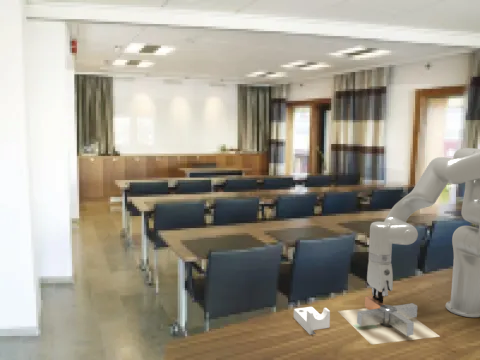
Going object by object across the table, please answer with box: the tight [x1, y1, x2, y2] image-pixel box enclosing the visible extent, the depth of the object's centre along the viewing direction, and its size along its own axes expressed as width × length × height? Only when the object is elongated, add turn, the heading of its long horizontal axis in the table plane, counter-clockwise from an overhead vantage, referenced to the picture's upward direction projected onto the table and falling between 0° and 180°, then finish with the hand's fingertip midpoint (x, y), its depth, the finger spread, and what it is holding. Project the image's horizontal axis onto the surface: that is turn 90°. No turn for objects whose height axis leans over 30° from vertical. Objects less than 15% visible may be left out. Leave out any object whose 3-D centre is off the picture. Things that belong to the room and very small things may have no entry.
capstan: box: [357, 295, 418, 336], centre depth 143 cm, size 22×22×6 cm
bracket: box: [293, 306, 331, 335], centre depth 146 cm, size 13×7×8 cm, turn 17°
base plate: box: [337, 304, 441, 345], centre depth 145 cm, size 24×24×2 cm
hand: (377, 306), depth 152 cm, fingers closed
